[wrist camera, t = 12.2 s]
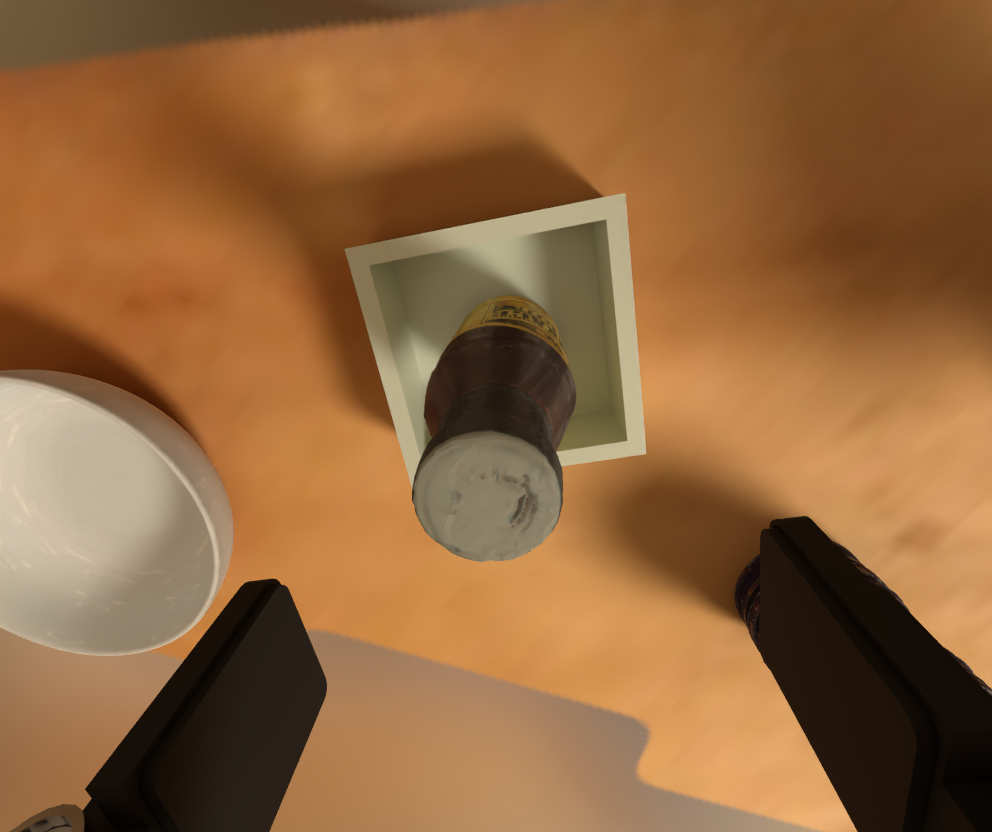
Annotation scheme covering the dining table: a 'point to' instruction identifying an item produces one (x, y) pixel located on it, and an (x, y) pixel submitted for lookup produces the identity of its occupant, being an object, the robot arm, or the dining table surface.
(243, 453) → the dining table surface
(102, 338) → the dining table surface
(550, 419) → the sauce bottle
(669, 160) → the dining table surface
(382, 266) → the bin
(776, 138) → the dining table surface
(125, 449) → the serving bowl
